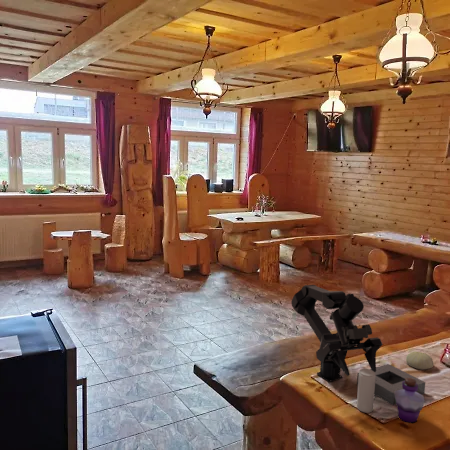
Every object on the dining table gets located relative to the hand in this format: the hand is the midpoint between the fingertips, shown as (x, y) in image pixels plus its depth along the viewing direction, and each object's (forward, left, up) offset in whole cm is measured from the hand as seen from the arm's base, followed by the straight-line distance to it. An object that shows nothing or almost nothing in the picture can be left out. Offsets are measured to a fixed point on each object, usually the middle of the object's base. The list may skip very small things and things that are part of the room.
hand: (361, 373), depth 137 cm
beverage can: (+3, -1, -10) cm, 11 cm away
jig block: (-2, +16, -10) cm, 19 cm away
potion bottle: (+12, +7, -10) cm, 17 cm away
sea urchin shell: (-9, +40, -11) cm, 43 cm away
